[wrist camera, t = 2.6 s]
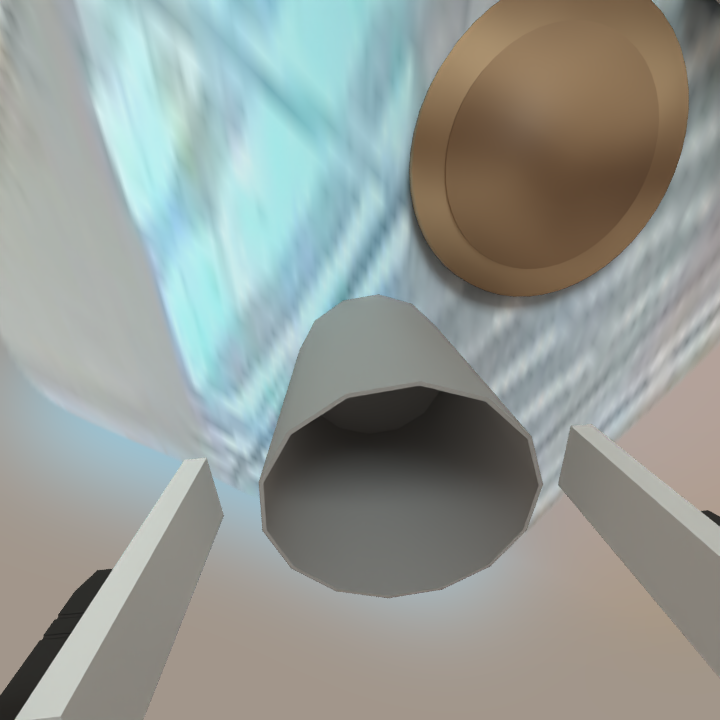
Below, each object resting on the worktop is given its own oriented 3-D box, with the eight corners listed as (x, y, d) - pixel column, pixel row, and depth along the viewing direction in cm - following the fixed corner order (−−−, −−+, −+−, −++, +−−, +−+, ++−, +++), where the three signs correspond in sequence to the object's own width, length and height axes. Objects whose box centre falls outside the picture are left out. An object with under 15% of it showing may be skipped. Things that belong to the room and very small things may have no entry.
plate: (409, -6, 13) (414, -23, 12) (711, -22, 13) (739, -40, 12) (409, 301, 18) (413, 305, 17) (631, 284, 18) (646, 288, 17)
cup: (467, 319, 18) (596, 424, 9) (416, 439, 21) (473, 609, 12) (317, 277, 17) (288, 348, 8) (285, 411, 20) (237, 578, 11)
